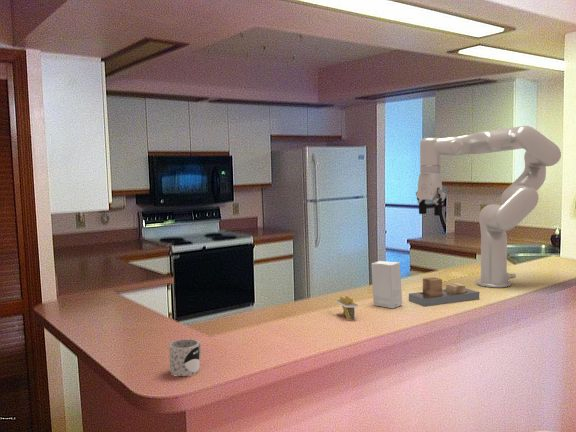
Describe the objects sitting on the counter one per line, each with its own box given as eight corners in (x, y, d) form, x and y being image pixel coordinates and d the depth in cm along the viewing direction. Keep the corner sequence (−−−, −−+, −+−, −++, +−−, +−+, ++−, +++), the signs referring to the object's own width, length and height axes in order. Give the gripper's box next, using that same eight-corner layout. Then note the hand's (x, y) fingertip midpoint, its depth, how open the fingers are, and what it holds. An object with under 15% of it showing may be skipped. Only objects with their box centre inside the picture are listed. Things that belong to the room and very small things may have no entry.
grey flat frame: (462, 293, 193) (462, 287, 193) (479, 299, 185) (479, 292, 185) (408, 300, 185) (408, 293, 185) (424, 306, 176) (424, 298, 176)
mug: (189, 378, 117) (188, 349, 117) (164, 375, 120) (163, 346, 119) (212, 363, 127) (211, 336, 126) (188, 360, 129) (187, 334, 129)
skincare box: (402, 305, 178) (402, 262, 176) (391, 309, 173) (391, 264, 172) (381, 302, 184) (381, 259, 183) (371, 305, 180) (370, 261, 178)
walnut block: (422, 300, 184) (422, 278, 184) (433, 299, 186) (433, 277, 185) (430, 303, 180) (430, 280, 179) (442, 302, 182) (442, 279, 181)
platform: (340, 327, 155) (340, 306, 155) (318, 313, 172) (317, 293, 172) (376, 323, 159) (376, 302, 158) (351, 309, 176) (351, 290, 176)
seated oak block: (456, 296, 190) (456, 282, 189) (465, 299, 185) (465, 285, 185) (446, 298, 188) (446, 284, 187) (454, 300, 184) (454, 286, 183)
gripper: (409, 170, 210) (409, 213, 211) (436, 170, 194) (436, 216, 195) (424, 170, 212) (424, 212, 214) (453, 169, 196) (452, 215, 198)
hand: (430, 214), depth 204 cm, fingers open, 9 cm apart
